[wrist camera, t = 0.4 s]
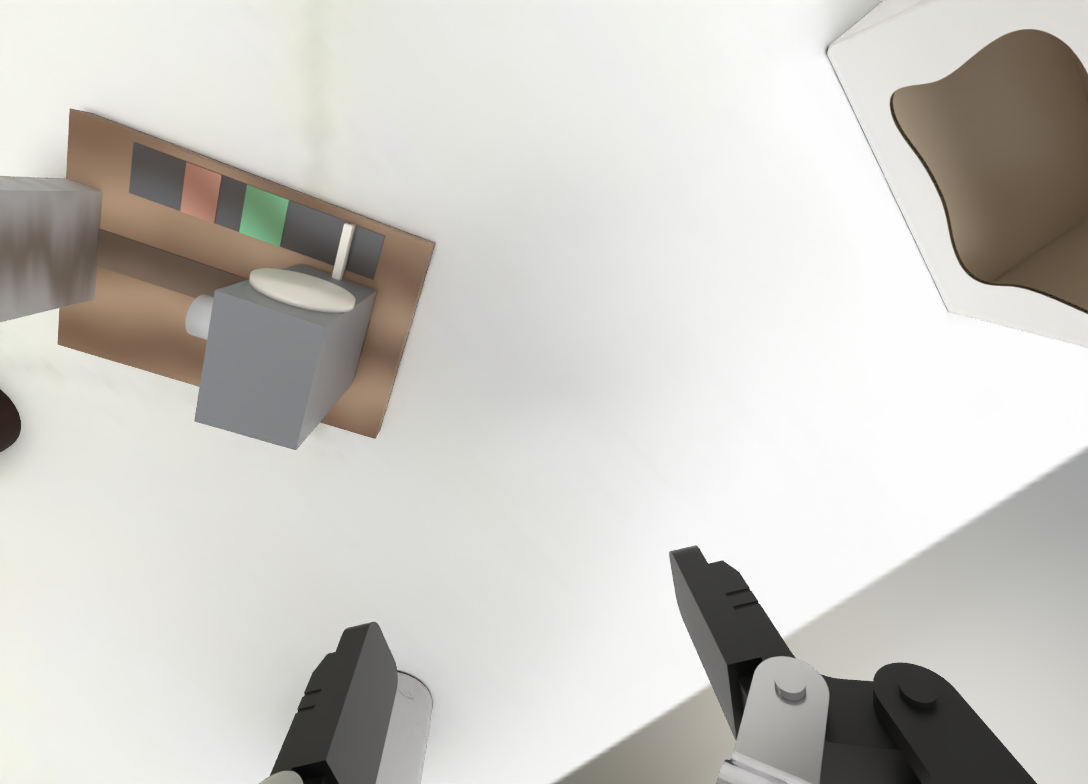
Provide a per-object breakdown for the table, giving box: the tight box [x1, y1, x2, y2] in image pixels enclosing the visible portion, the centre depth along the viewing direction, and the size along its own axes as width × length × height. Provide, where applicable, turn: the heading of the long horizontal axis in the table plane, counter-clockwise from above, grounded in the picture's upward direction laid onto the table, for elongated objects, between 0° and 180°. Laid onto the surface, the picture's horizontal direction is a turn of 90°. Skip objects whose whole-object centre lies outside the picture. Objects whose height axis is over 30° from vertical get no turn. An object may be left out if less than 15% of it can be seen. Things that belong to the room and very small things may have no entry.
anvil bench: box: [0, 109, 435, 439], centre depth 31 cm, size 15×22×8 cm
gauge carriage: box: [185, 223, 377, 450], centre depth 28 cm, size 10×8×10 cm
